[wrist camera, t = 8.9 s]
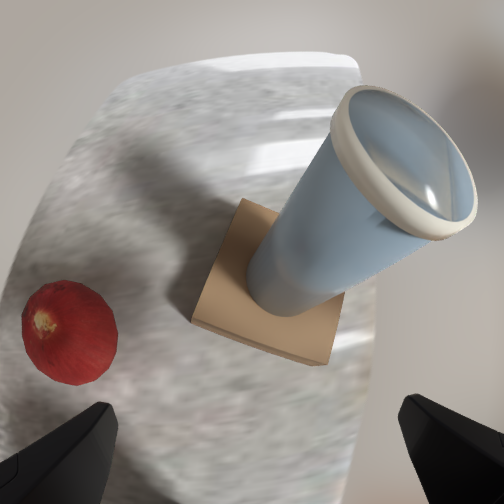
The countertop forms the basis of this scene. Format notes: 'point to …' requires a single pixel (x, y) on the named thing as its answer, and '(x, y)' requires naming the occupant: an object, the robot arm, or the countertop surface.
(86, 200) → the countertop surface
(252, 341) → the block
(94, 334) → the onion
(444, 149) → the tumbler
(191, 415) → the countertop surface
